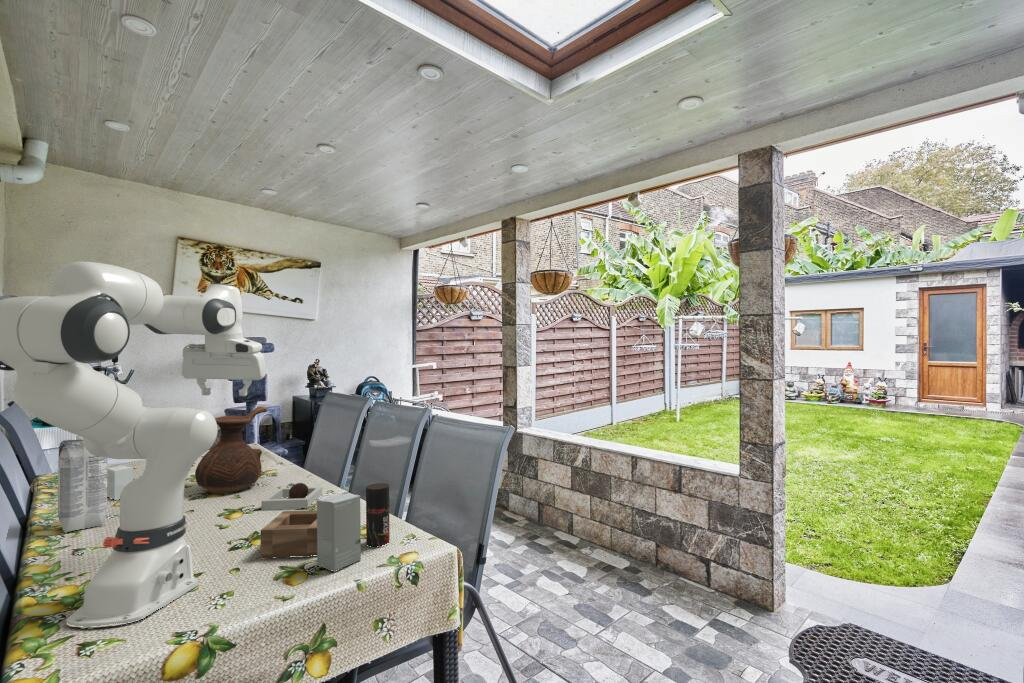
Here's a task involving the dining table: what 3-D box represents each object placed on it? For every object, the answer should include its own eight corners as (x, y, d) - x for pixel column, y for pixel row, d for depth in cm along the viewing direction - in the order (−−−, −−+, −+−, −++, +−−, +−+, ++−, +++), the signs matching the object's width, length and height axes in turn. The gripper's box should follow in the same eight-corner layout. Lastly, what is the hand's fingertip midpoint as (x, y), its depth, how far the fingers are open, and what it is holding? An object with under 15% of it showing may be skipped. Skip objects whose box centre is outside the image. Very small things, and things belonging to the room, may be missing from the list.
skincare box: (334, 573, 109) (333, 504, 110) (314, 566, 113) (314, 499, 114) (363, 559, 117) (363, 494, 117) (343, 553, 120) (343, 490, 121)
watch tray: (307, 508, 155) (307, 499, 155) (261, 510, 154) (261, 501, 154) (322, 495, 170) (322, 486, 170) (280, 496, 169) (280, 488, 169)
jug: (242, 498, 168) (242, 412, 168) (181, 498, 168) (181, 413, 169) (273, 481, 190) (273, 405, 190) (219, 481, 190) (219, 405, 190)
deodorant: (383, 548, 123) (382, 489, 123) (362, 546, 124) (361, 488, 125) (393, 539, 129) (393, 483, 129) (373, 538, 130) (372, 482, 130)
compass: (300, 498, 167) (300, 477, 168) (308, 503, 162) (308, 481, 162) (276, 503, 162) (276, 481, 162) (283, 508, 156) (283, 486, 156)
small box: (133, 497, 171) (133, 467, 171) (114, 501, 166) (114, 470, 166) (124, 493, 175) (124, 464, 175) (105, 497, 170) (105, 468, 170)
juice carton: (108, 525, 142) (108, 434, 143) (59, 535, 134) (60, 439, 135) (103, 518, 148) (104, 431, 149) (57, 528, 140) (57, 435, 141)
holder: (318, 556, 119) (318, 528, 119) (260, 558, 118) (260, 530, 118) (335, 534, 133) (335, 509, 133) (283, 536, 132) (283, 511, 132)
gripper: (175, 344, 124) (176, 397, 125) (258, 347, 127) (259, 398, 128) (189, 342, 131) (190, 392, 132) (268, 344, 133) (268, 393, 134)
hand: (224, 395), depth 130 cm, fingers open, 8 cm apart
